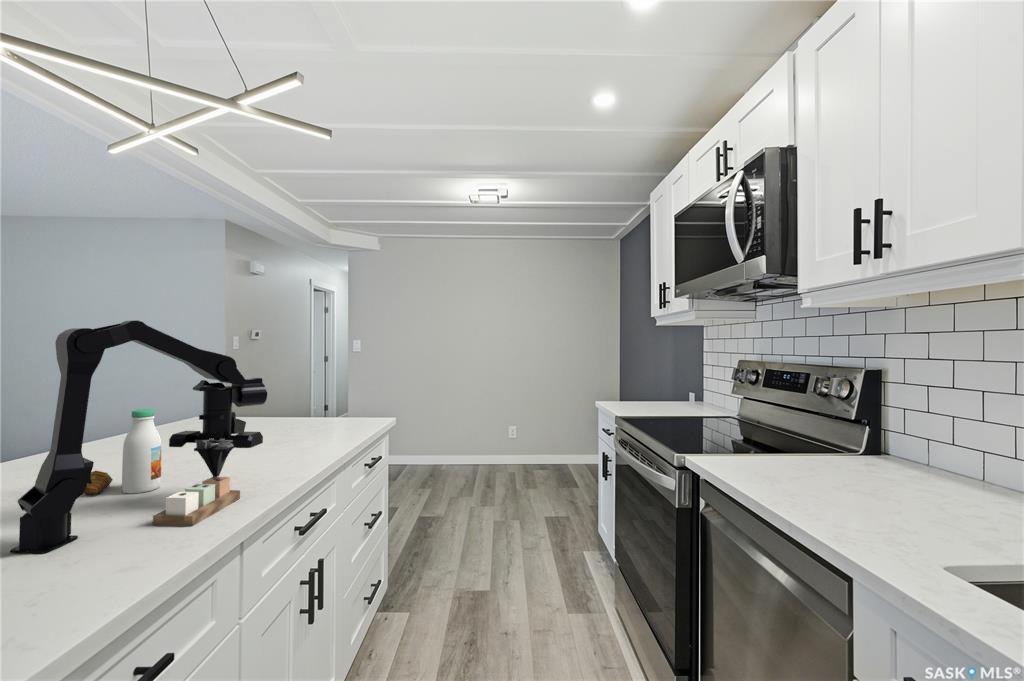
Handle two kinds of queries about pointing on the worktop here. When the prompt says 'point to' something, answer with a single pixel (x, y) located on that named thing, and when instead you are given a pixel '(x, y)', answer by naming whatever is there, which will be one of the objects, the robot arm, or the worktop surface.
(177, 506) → the key one
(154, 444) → the milk bottle
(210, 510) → the board
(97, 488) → the croissant
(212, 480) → the key three
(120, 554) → the worktop surface
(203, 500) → the key two
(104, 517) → the worktop surface
